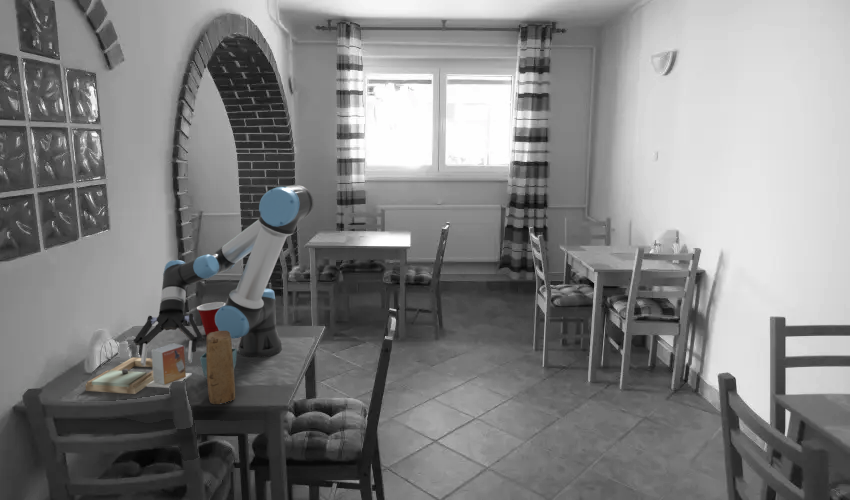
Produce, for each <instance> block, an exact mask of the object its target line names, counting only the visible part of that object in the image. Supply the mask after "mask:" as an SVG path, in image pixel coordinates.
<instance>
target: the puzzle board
mask: <svg viewBox="0 0 850 500" xmlns="http://www.w3.org/2000/svg"><path fill="white" fill-rule="evenodd" d="M134 367H141V368H143V367H144V368H146V367H147V368H153V366H152V357H151V358H150V357H149V358H148V357H146V365H145V366H142V364H141V357H131V358H129V359H128V360H127V359H126V361H124V362H121V364H119V365H117V366H115V367H113V368H112V369H110V370H109V369H108V370H106V371H104V372H102V373H101V374H98V375H96V376H95V377H94V378H92V379H89V380H88V381H87V382H86V384H85V392H96V393H97V392H101V393H114V394H129V395H132V394H133V395H136V394H138V393H139V392H140V391H142V390H143V389H145V388H146V385H147V384H149V383H150V382H152V381H153V370H151V371H149V372H145V371H130V370H132V369H133V368H134Z"/></svg>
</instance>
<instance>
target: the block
mask: <svg viewBox="0 0 850 500" xmlns="http://www.w3.org/2000/svg"><path fill="white" fill-rule="evenodd" d="M205 343H206V344H205V345H206V350H205V353H206V357H207V378H206V381H207V393H208V400H209V403H210V404H212V405H221V404H220V403H225V402H228V401H230V402H232V401H231V400H233V401H234V400H235V399H236V384H235V368H234V366H233V354H232V349H233V346H232V338H231V335H230V332H228V331H216V332H211V333H209V334H208V335H207V336H206V342H205ZM228 403H229V402H228ZM225 404H226V403H225Z"/></svg>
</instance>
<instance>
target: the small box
mask: <svg viewBox="0 0 850 500" xmlns="http://www.w3.org/2000/svg"><path fill="white" fill-rule="evenodd" d="M151 359H152V366H153V367H152V371H153V380H154V381H155V382H158V383H161V384H164V385H165V384H167V383H169V382H172V381H175V380H178V379H181V378H184V377H186V373H187V372H186V358H185V346H184V345H182V344H179V343H175V342H172V343H169V344H166V345H163V346H160V347H157V348H153V349H151Z"/></svg>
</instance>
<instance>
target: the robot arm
mask: <svg viewBox="0 0 850 500" xmlns="http://www.w3.org/2000/svg"><path fill="white" fill-rule="evenodd" d="M259 201H260V202H259V205H258V211H259V213H260V215H259V218H258V219H257V220H256V221H254V222H253V223H252V224H250V225H249V226H248V227H246V228H244V230H242V231H241V232H240V233H238V234H237V235H236V236H235V237H233V238H232V239H230V240H228V242H227V243H225V244H224V245H222V246H221V247H220V248H218V249H217V250H216V251H214V252H212V253H209V254H203V255H201V256H197V257H196V258H193V259H191V260H188V261H186V262H185V261H183V260H179V259H176V260H169V261H167V263H166V264H165V266H164V271H163V272H162V273H163V274H162V275H163V276H162V284H161V285H162V286H161V288H162V289H161V297H160V304H159V312H158V316H157V317H156V316H152V315H148V316H147V319H146V322H145V324H144V325H143V326H142V327H141V329H140V330H139V332H138V334H137V335H136V336H135V338H134V339H133V343H134V344H135V346H138V354H139V356H141V357H140V358H141V364H142V366H145V365H146V358H148V357H147V356H148V348H149V347H148V344H149V343H151V341H152V340H153V339H155V338H156V337H157V336H158V334H160V333H162V332H163V331H164V330H165V331H169V330H172V331H174V330H175V331H176V330H177V329H178V330H179V331H181V332H182V334H184V335H185V337H187V338H188V339H189V341H188V354H187V361H188V363H189V364H192V363H193V353H196V352H197V344H198V343H199V342H203V341H204V338H203V335H202V333H201V331H200V330H199V328H198V326H197V324H196V322H195V318H194V314H193V313H189V314H188V315H185V307H186V305H185V303H186V296H187V287H188V286H191V285H193V284H196V283H198V282H200V281H203V280H206V279H210V278H212V277H213V276H216V275H218V274H221V273H225V272H228V271H229V270H231V269H232V268H234V267H235V265H236V264H237V263H238V262H239V261H241V260H242V259H243V258H245V257H246V256H247V255H248V256H249V257H248V259H247V261H246V264H245V266H244V269H243V272H242V274H241V276H240V279H239V282H238V284H237V287H236V288H235V289H233V290H230V292H229V294H228V296H227V299H226V301H225V302H224V303H225V305H224V306H222V307H221V308H220V309H219V310H218V311H217V312H216V315H215V323H216V326H217V327H218V330H219V331H228V332H230V335H231V339H235V340H236V339H240V340H239V344H238V354H239V355H240V356H242V357H246V358H265V357H269V356H270V357H271V356H274V355H276V354H279V353H280V352H281V351H282V350H283V346H282V340H281V338H280V335H279V334H278V329H277V318H276V314H277V313H276V297H275V291H274V290H273V289H271V288H267V286H268V283H269V280H270V278H271V276H272V274H273V271H274V268H275V266H276V264H277V261H278V259H279V257H280V254H281V251H282V248H283V247H284V244H285V242H286V240H287V237H289V236H291V235H294V233H295V230H296V228H297V226H298V223H299V222H300V221H302V220H303V219H306V218H307V217H308V216H309V215H311V213H312V212H313V209H314V206H315V205H314V204H315V201H314V196H313V195H312V193H311V191H310V190H309V189H308V188H306V187H305V186H303V185H299V184H293V185H288V186H277V187H274V188H272V189H269V190H268V191H267V192H265V193H264V194H263V196H262V197H261V199H260V200H259ZM185 321H187V323H190V326H191V328H192V329H193V332H194V333H195V335H196V336H195V335H194V334H193V333H192V332H191V331H190V330H189V329H188V328H187V327H186V326H185V325H184V324H183V323H184V322H185ZM155 323H156V325H155ZM153 325H155V327H154V328H152V327H153ZM151 328H152V329H151ZM150 330H151V331H150Z"/></svg>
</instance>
